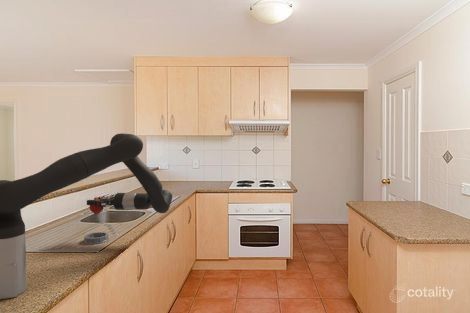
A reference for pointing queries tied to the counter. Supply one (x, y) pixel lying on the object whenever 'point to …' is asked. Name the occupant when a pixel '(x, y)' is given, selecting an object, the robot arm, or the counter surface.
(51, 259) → the counter surface
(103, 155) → the robot arm
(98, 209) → the onion
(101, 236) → the grey round tray
